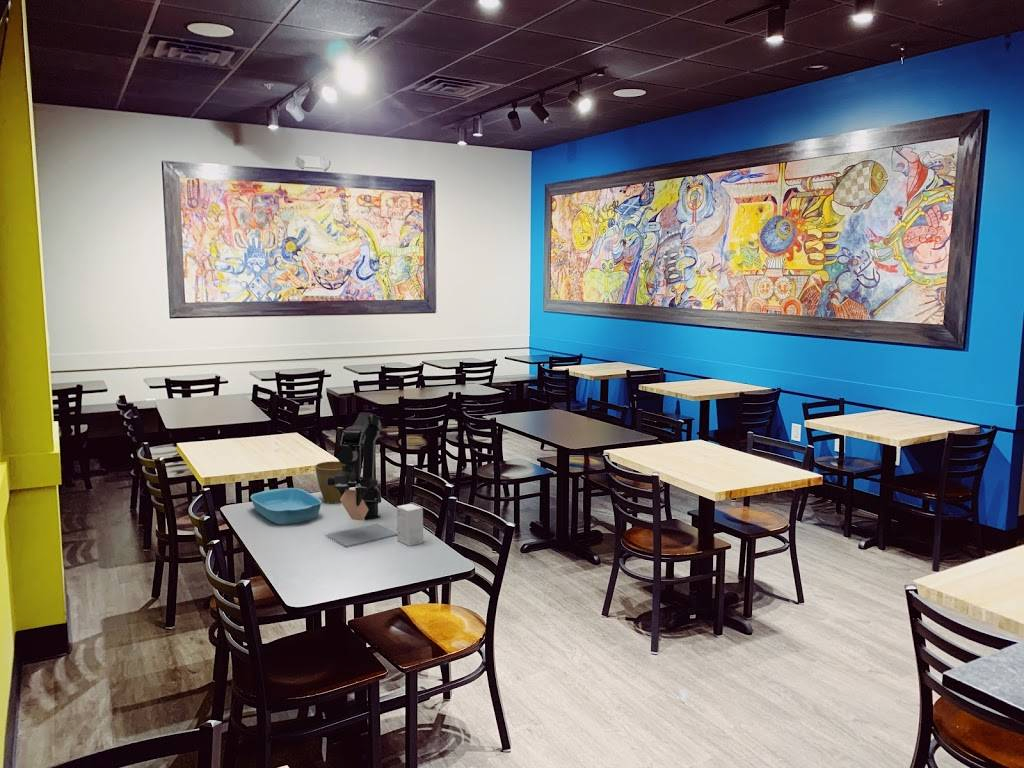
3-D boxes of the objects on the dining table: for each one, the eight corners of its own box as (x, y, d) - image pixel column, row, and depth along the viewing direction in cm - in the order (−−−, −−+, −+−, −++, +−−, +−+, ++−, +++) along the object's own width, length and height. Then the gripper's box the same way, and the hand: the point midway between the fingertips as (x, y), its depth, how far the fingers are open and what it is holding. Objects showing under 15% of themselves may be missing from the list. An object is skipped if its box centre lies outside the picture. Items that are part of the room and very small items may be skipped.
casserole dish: (244, 508, 324) (243, 492, 323) (296, 500, 337) (296, 484, 336) (274, 531, 295) (273, 513, 294) (330, 521, 308) (329, 503, 307)
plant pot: (311, 505, 328) (310, 468, 326) (321, 496, 343) (320, 460, 341) (346, 506, 327) (346, 469, 326) (355, 496, 342) (354, 461, 340)
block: (357, 508, 293) (345, 489, 286) (368, 509, 291) (357, 490, 284) (351, 519, 290) (339, 500, 283) (363, 520, 288) (351, 500, 281)
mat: (377, 524, 302) (377, 523, 302) (399, 535, 290) (399, 533, 290) (325, 536, 288) (325, 534, 288) (346, 547, 276) (346, 545, 276)
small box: (423, 542, 282) (423, 507, 280) (408, 546, 278) (408, 510, 276) (411, 537, 288) (411, 502, 286) (396, 540, 284) (396, 505, 282)
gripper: (318, 463, 282) (317, 506, 282) (361, 464, 275) (360, 509, 274) (336, 461, 293) (335, 503, 292) (378, 463, 285) (378, 506, 284)
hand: (351, 505), depth 285 cm, fingers closed on block, 5 cm apart
